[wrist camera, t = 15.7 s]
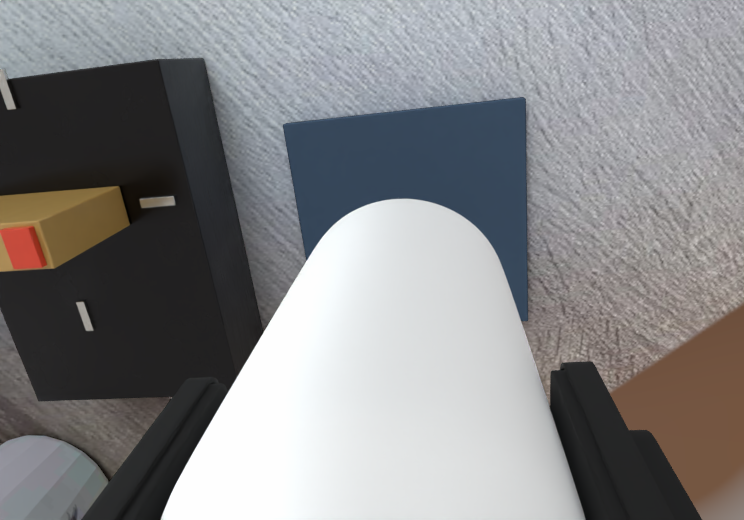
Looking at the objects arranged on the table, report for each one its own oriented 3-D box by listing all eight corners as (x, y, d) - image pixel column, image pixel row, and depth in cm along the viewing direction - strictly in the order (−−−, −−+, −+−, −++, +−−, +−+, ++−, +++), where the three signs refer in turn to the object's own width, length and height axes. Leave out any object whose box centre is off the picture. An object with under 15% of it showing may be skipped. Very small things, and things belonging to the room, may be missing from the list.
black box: (-38, 81, 23) (-130, 86, 19) (202, 48, 22) (152, 48, 18) (67, 356, 28) (10, 404, 25) (266, 347, 27) (239, 396, 23)
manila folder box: (-16, 235, 21) (-131, 282, 17) (-31, 197, 21) (-153, 236, 16) (131, 225, 21) (49, 272, 16) (119, 185, 20) (32, 222, 16)
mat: (285, 123, 22) (282, 124, 22) (523, 96, 21) (525, 97, 21) (320, 327, 26) (318, 332, 26) (526, 316, 25) (528, 321, 24)
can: (380, 402, 19) (309, 897, 8) (268, 263, 17) (-20, 639, 6) (542, 316, 17) (751, 813, 6) (432, 152, 15) (437, 409, 4)
